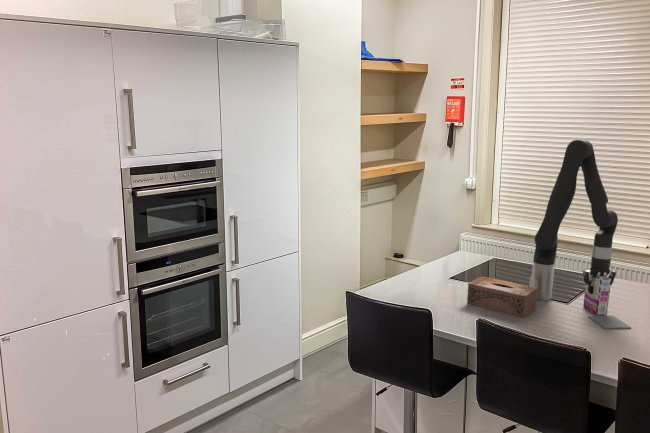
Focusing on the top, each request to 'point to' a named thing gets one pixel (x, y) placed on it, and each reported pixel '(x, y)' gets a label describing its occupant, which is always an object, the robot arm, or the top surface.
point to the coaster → (609, 322)
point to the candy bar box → (598, 295)
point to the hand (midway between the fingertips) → (597, 293)
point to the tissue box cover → (502, 296)
